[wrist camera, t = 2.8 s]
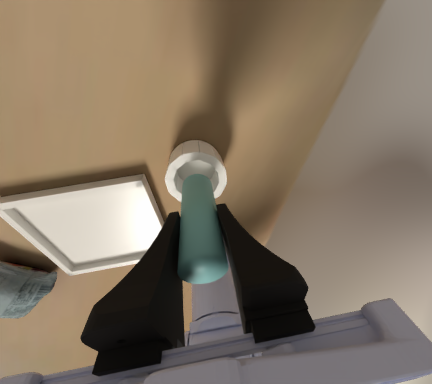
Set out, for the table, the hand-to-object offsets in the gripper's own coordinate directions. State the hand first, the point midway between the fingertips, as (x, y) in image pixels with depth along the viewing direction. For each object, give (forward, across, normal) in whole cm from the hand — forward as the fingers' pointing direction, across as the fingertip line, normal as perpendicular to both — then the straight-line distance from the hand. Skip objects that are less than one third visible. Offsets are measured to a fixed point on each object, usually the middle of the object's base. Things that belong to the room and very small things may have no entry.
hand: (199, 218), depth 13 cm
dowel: (+4, 0, 0) cm, 4 cm away
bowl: (+9, 0, 0) cm, 9 cm away
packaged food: (+9, +30, +14) cm, 35 cm away
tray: (+9, +14, +7) cm, 18 cm away
